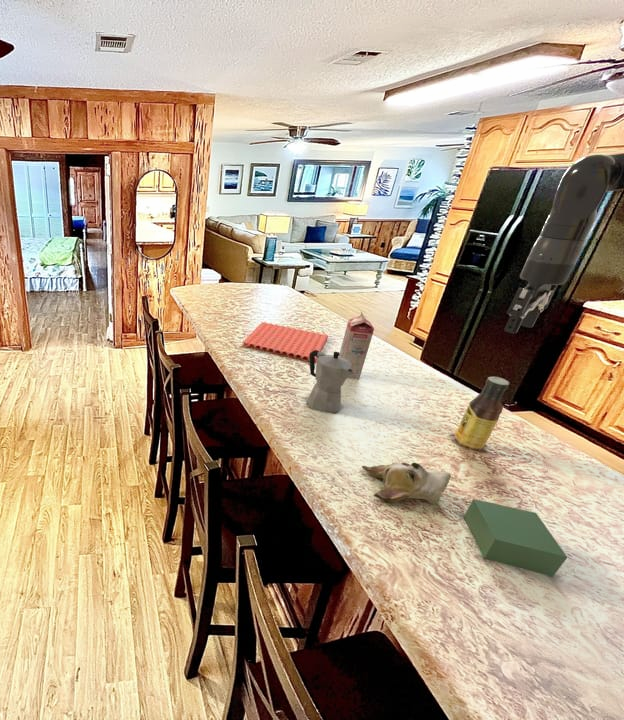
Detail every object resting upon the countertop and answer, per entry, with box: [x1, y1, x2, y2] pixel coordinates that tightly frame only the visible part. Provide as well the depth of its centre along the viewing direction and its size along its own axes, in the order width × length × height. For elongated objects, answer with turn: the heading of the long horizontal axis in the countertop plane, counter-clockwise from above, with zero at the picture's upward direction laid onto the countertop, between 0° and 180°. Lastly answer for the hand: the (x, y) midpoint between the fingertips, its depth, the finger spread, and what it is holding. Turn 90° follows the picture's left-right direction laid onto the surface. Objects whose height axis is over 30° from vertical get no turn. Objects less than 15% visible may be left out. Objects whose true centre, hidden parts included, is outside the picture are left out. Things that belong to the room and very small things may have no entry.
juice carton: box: [338, 311, 375, 380], centre depth 131 cm, size 7×7×22 cm
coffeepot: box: [306, 350, 355, 414], centre depth 113 cm, size 15×9×18 cm, turn 23°
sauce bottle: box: [453, 376, 510, 451], centre depth 96 cm, size 6×6×20 cm
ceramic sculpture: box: [361, 462, 452, 505], centre depth 83 cm, size 11×9×15 cm
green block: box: [463, 498, 568, 577], centre depth 71 cm, size 10×10×6 cm
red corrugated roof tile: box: [241, 321, 329, 364], centre depth 159 cm, size 28×28×2 cm
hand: (518, 329), depth 90 cm, fingers open, 8 cm apart
